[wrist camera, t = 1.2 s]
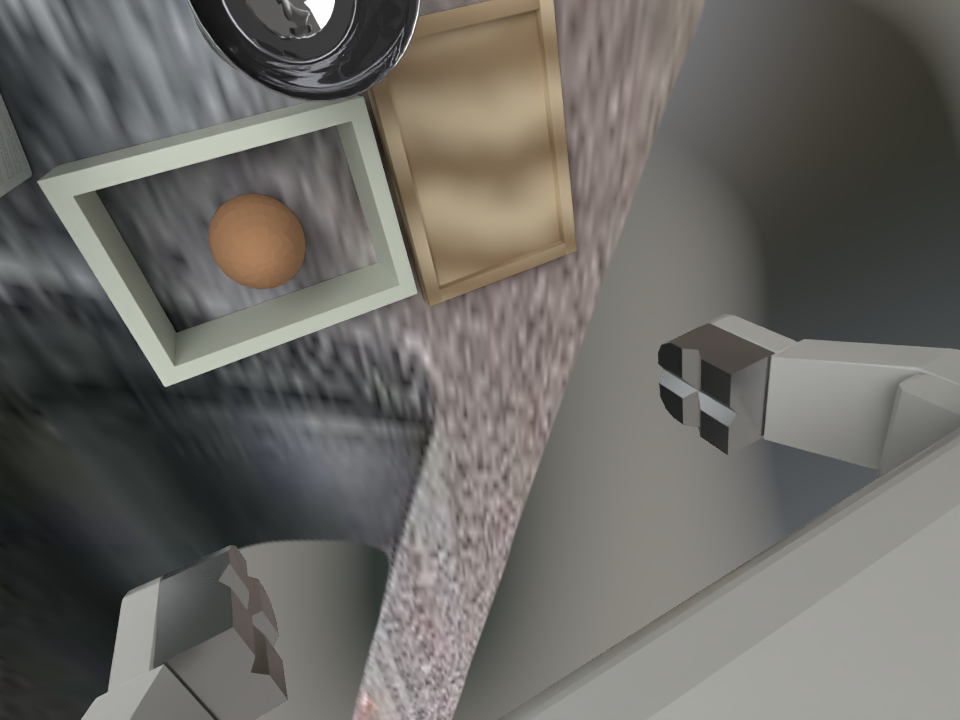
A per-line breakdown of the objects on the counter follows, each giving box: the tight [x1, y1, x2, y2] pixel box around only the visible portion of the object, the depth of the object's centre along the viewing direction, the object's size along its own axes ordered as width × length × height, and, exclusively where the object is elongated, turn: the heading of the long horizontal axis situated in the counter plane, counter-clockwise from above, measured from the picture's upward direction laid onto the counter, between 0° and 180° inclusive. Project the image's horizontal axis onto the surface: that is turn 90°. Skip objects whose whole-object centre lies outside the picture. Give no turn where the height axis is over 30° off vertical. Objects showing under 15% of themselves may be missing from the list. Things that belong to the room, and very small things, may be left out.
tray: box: [367, 0, 577, 306], centre depth 38 cm, size 18×13×2 cm
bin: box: [37, 95, 418, 387], centre depth 33 cm, size 12×16×5 cm
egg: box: [209, 194, 306, 289], centre depth 32 cm, size 5×5×8 cm
